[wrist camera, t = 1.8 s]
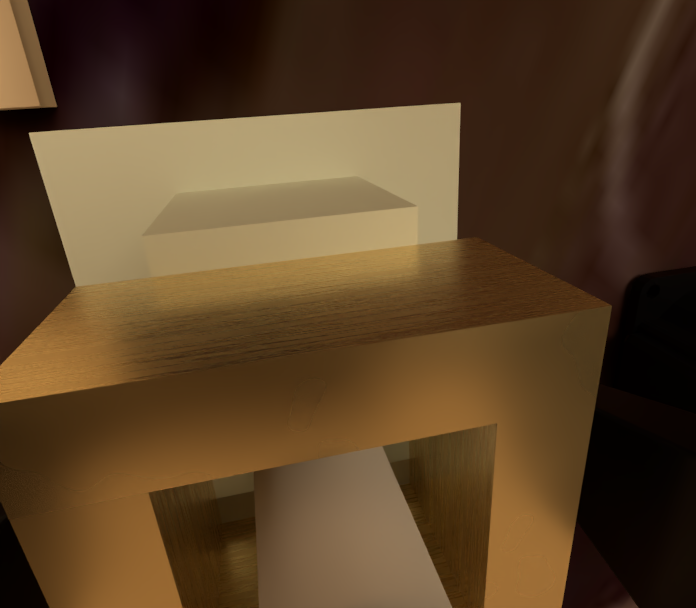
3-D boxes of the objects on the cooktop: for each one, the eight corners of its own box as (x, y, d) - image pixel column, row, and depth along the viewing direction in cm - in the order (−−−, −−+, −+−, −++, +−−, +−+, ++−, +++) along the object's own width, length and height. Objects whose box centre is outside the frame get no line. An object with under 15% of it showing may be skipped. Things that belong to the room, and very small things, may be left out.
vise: (428, 104, 12) (936, 73, 3) (427, 415, 16) (663, 791, 7) (63, 130, 11) (-806, 196, 2) (157, 467, 15) (27, 1028, 6)
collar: (476, 236, 8) (611, 304, 5) (464, 515, 10) (551, 668, 7) (76, 286, 6) (-43, 409, 4) (167, 584, 9) (135, 794, 6)
